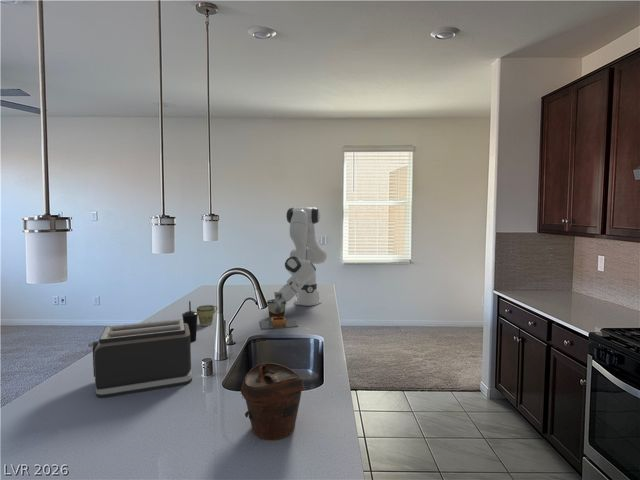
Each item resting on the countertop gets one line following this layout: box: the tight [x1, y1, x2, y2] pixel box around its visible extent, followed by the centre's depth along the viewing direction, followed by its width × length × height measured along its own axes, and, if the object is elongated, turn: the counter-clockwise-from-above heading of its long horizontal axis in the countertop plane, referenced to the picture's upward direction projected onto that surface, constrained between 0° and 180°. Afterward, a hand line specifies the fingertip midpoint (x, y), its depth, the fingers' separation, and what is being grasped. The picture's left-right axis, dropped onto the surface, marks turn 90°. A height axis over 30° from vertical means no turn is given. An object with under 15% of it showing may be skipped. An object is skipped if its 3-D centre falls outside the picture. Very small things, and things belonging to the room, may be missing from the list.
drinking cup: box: [181, 300, 199, 343], centre depth 192 cm, size 8×8×20 cm
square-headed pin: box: [273, 291, 282, 313], centre depth 219 cm, size 4×4×11 cm
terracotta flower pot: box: [240, 362, 306, 441], centre depth 114 cm, size 18×20×18 cm
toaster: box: [87, 318, 193, 399], centre depth 145 cm, size 19×35×20 cm, turn 112°
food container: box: [266, 298, 288, 318], centre depth 238 cm, size 12×6×10 cm, turn 84°
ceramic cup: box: [196, 304, 218, 327], centre depth 222 cm, size 13×10×10 cm
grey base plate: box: [259, 316, 299, 330], centre depth 220 cm, size 14×20×4 cm
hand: (276, 302), depth 219 cm, fingers closed on square-headed pin, 4 cm apart
